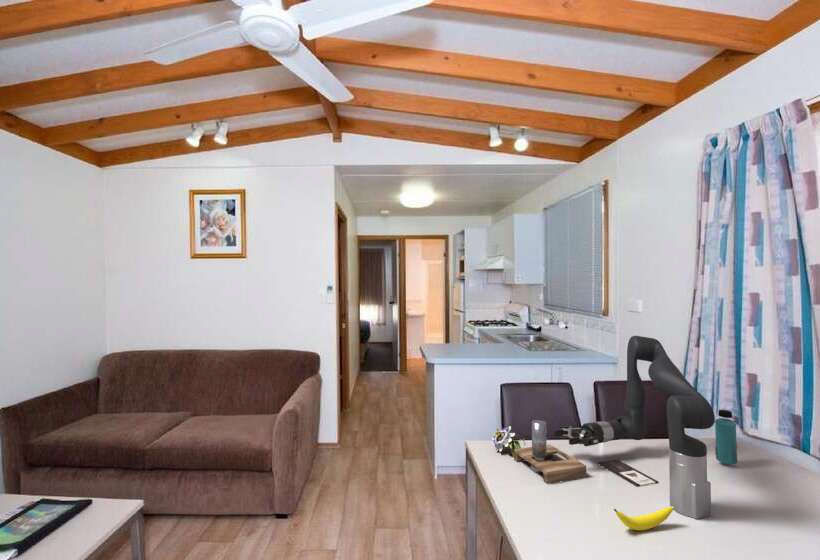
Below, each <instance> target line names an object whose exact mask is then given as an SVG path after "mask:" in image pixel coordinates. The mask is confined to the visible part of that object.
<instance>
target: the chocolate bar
mask: <svg viewBox="0 0 820 560" xmlns="http://www.w3.org/2000/svg"><path fill="white" fill-rule="evenodd" d="M597 464H598V465H599V464H600V465H599V466H601V467H602V466H603V468H604V469H606V470H607V469H608V471H609V472H611V473H613V474H614V475H616V476H617V477H619V478H621V479H623V480H625V481H626V482H628V483H629V484H631V485H633V486H635V487H636V488H637V487H643V486H644V485H645V486H650V485H649V484H651V485H657V484H659V481H658V480H657V479H654V478H653V477H651V476H649V475H647V474H646V473H644V472H642V471H640V470H639V469H636V468H634V467H632V466H630V465H628V464H626V463H625V462H623V461H621V460H619V459H612V460H606V461H599V462H597ZM645 486H644V487H645Z"/></svg>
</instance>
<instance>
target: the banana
mask: <svg viewBox="0 0 820 560" xmlns="http://www.w3.org/2000/svg"><path fill="white" fill-rule="evenodd" d="M613 511H614V512H615V513H616V516H617V517H618V519H619V520H620V521H621V523H622V524H624V525H625V527H627V528H628V529H631V530H636V531H646V530H650V529H652V528H655V527H656V526H659V525H661V524H663V522H665V521H666V520H667V519H668V518H669V516H670V515H671V513H673V511H674V506H673V507H671V506H669V507H664V508H661V509H659V510H657V511H654V512H651V513H648V514H644V515H641V516H627V515H626V514H625V513H623V512H621V511H619V510H617V509H616V508H613Z"/></svg>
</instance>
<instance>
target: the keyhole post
mask: <svg viewBox="0 0 820 560" xmlns="http://www.w3.org/2000/svg"><path fill="white" fill-rule="evenodd" d="M547 441H548V440H547V422H546V421H544V420H540V419H536V420H535V419H533V420H532V421H531V447H532V455H534V460H536V461H537V462H540V461H545V458H544V457H546V456H547V445H548V444H547ZM530 470H531V471H532V472H533V473H535V474H543V472H542V471H540V470H539V469H538V468H536V467H535V466H533V465H532V464H530Z"/></svg>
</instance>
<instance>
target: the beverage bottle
mask: <svg viewBox="0 0 820 560" xmlns="http://www.w3.org/2000/svg"><path fill="white" fill-rule="evenodd" d="M717 414H718V415H717V416H719V417H720V418H717V419H715V422H714V425H715V427H714V428H715V431H714V434H715V441H714V443H715V459H716V460H717V461H718V462H720V463H723V464H726V465H737V463H738V460H739V459H738V443H737V442H738V441H737V423H736V422H735V421H733V420H732V418H733V412H732V410H727V409H719V410H718V413H717Z"/></svg>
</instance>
